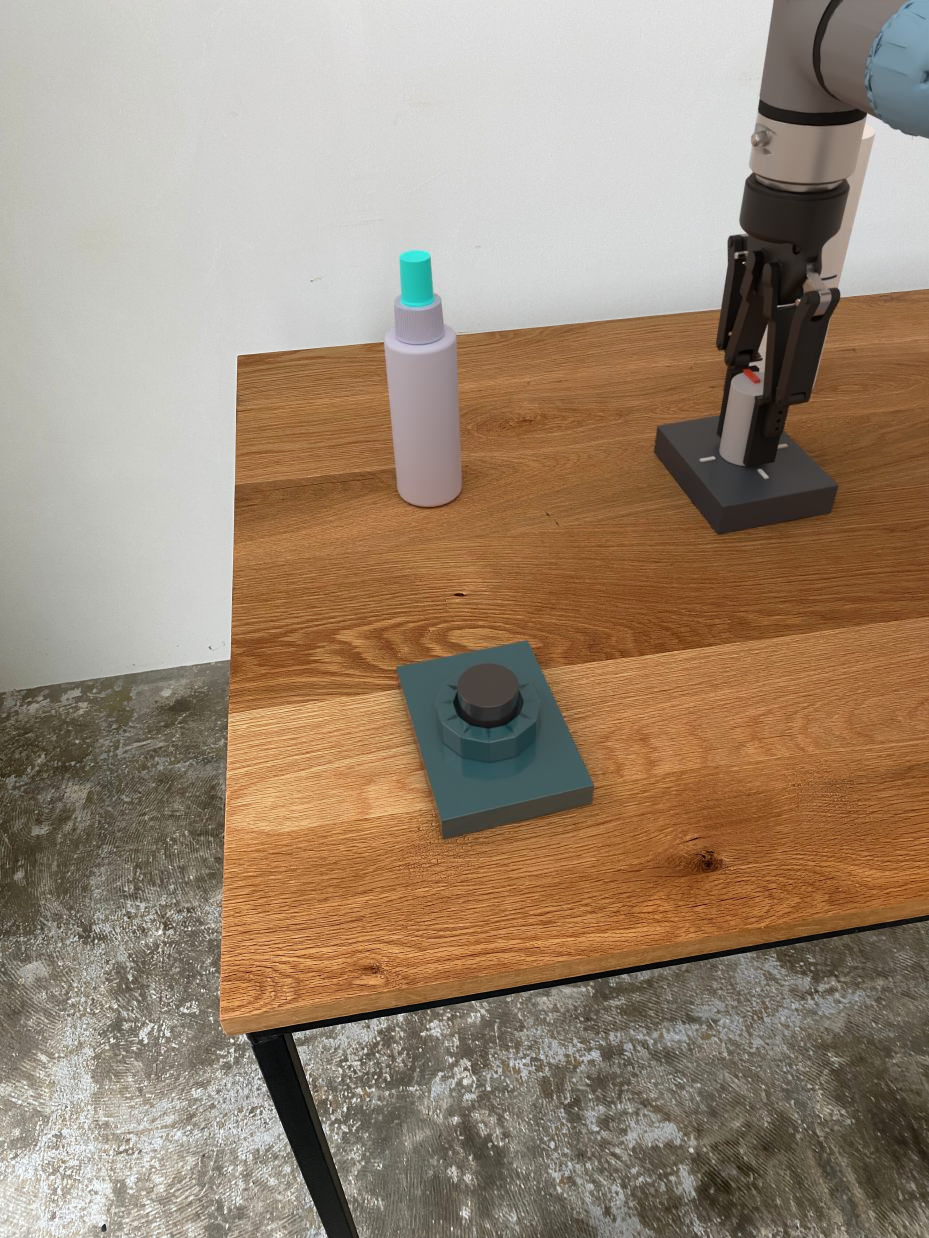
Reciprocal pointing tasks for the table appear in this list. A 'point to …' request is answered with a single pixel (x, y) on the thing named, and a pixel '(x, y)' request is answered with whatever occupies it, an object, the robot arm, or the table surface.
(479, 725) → the dark grey round knob
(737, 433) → the tap dial
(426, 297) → the spray bottle
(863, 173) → the cylindrical container
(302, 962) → the table surface
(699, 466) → the dial base
